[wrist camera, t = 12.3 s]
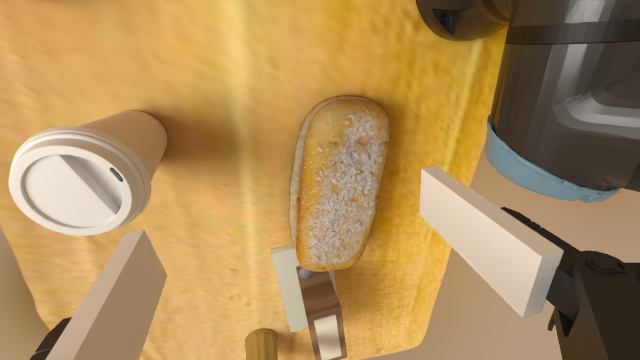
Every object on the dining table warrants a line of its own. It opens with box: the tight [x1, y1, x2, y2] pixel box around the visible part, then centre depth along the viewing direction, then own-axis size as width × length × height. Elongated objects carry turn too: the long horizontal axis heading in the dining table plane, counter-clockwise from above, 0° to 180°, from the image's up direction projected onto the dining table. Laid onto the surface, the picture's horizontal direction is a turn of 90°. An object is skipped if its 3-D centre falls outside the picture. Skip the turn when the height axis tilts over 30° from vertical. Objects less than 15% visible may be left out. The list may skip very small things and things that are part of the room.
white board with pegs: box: [270, 244, 338, 333], centre depth 50 cm, size 10×20×6 cm, turn 7°
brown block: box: [296, 266, 347, 360], centre depth 47 cm, size 12×5×10 cm, turn 7°
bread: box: [289, 96, 390, 272], centre depth 41 cm, size 13×26×8 cm, turn 175°
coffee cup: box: [9, 111, 167, 236], centre depth 29 cm, size 10×10×15 cm
